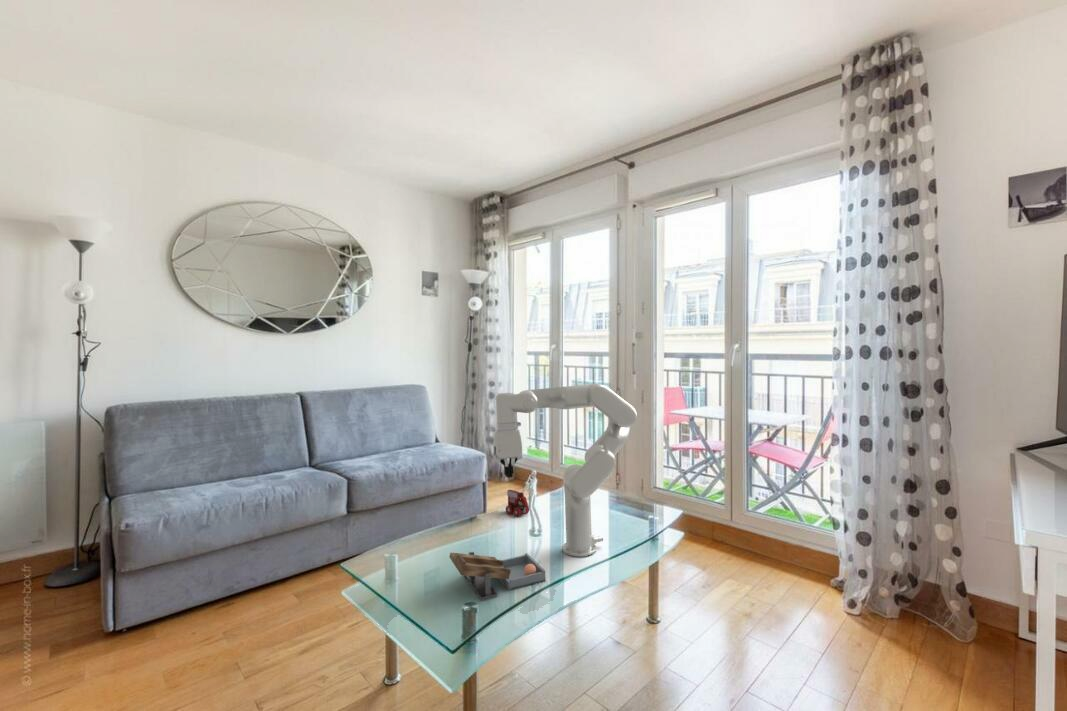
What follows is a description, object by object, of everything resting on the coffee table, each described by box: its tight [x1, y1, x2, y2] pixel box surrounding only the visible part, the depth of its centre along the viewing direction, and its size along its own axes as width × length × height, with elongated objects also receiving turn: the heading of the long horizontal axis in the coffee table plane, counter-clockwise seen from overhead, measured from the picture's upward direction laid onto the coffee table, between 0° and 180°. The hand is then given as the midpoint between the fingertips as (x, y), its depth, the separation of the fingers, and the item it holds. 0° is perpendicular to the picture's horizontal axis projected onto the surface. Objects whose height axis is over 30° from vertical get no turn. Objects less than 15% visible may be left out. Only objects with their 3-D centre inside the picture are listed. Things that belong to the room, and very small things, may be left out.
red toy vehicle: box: [505, 489, 530, 518], centre depth 218 cm, size 7×12×10 cm, turn 47°
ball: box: [524, 564, 536, 575], centre depth 156 cm, size 4×4×4 cm
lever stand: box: [463, 551, 498, 602], centre depth 152 cm, size 5×19×8 cm, turn 24°
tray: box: [498, 552, 547, 591], centre depth 157 cm, size 13×15×4 cm
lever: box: [449, 552, 511, 579], centre depth 152 cm, size 16×15×4 cm
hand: (509, 476), depth 173 cm, fingers closed
